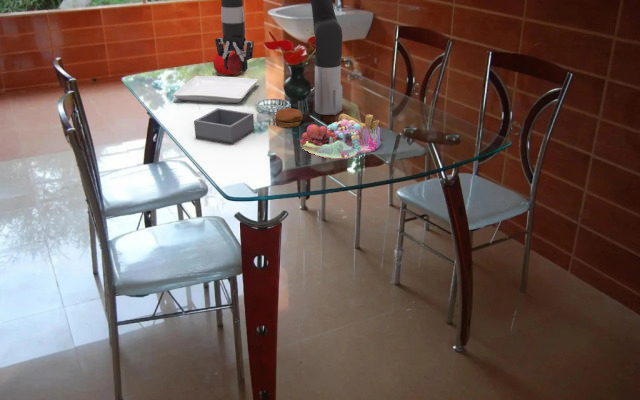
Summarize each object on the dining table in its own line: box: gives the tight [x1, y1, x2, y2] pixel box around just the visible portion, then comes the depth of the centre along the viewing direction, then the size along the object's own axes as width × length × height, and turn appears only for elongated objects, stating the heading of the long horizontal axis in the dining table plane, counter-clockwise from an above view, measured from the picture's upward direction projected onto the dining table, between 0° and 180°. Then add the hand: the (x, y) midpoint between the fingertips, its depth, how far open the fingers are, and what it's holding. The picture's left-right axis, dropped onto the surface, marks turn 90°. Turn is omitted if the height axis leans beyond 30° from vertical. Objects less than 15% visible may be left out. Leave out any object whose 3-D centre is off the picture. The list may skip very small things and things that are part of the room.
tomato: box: [212, 47, 235, 76], centre depth 277 cm, size 13×13×13 cm
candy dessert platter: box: [299, 113, 381, 160], centre depth 203 cm, size 25×24×9 cm
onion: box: [227, 52, 242, 76], centre depth 217 cm, size 6×6×8 cm
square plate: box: [172, 75, 260, 104], centre depth 252 cm, size 27×27×4 cm
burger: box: [274, 107, 303, 129], centre depth 222 cm, size 10×10×5 cm
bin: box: [193, 107, 255, 146], centre depth 212 cm, size 14×14×6 cm
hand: (235, 70), depth 218 cm, fingers closed on onion, 6 cm apart
